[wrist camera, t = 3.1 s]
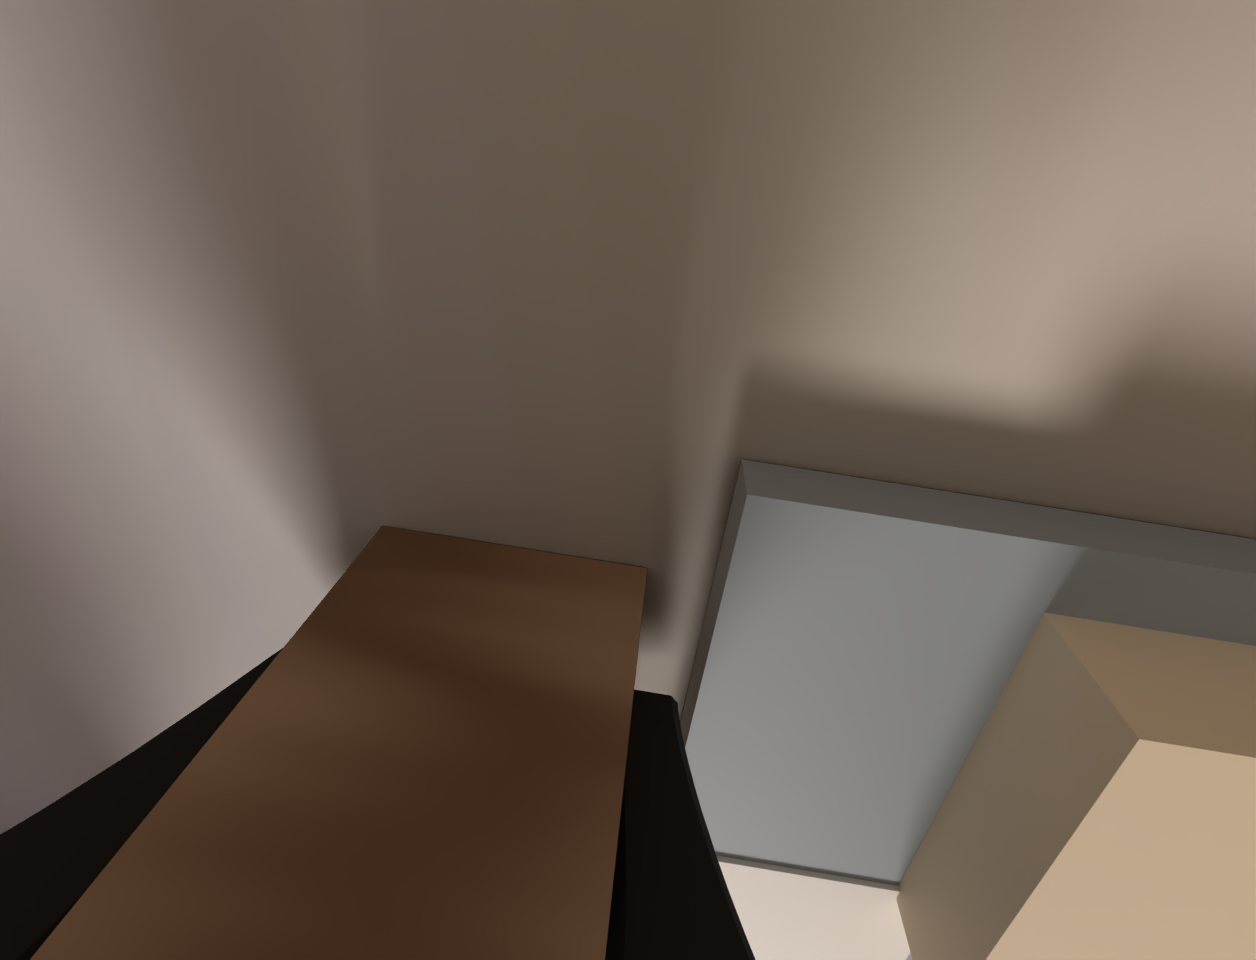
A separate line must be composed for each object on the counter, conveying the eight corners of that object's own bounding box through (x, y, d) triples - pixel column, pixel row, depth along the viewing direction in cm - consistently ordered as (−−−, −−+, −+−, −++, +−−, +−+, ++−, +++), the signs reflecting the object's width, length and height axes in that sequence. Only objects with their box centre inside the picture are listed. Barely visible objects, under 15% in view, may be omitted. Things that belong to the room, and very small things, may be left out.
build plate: (626, 951, 14) (611, 1135, 12) (742, 459, 9) (763, 595, 6) (1085, 1029, 14) (1176, 1234, 12) (1497, 577, 9) (1854, 769, 6)
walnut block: (391, 716, 12) (140, 1196, 6) (382, 525, 10) (18, 974, 5) (614, 753, 12) (548, 1267, 6) (646, 568, 10) (592, 1074, 4)
